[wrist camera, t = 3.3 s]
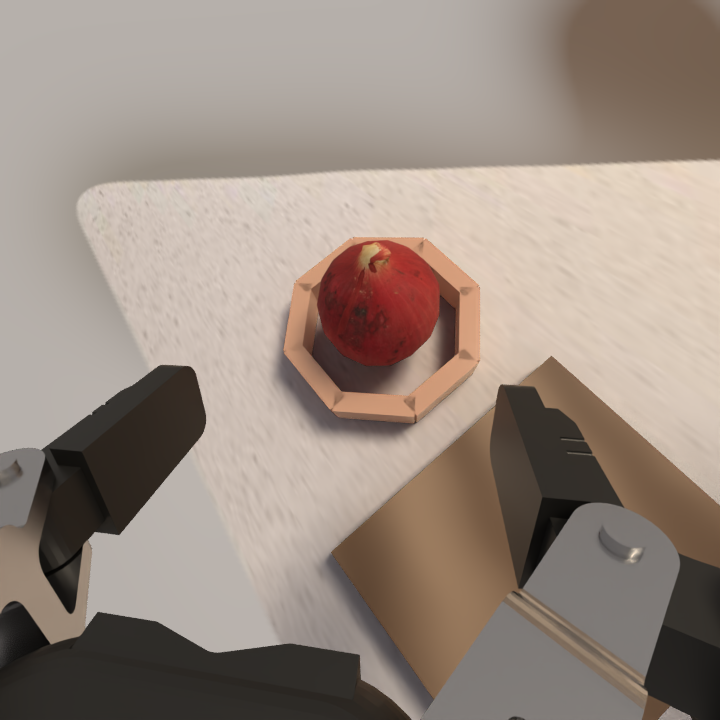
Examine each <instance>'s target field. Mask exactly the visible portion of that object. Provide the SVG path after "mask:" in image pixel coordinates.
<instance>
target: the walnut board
mask: <svg viewBox="0 0 720 720" xmlns="http://www.w3.org/2000/svg"><path fill="white" fill-rule="evenodd" d="M519 385H520V386H534V387H535V388H536V390H537V392H538V394H539V396H540V398H541V400H542V402H543V404H544V406H545V408H557V409H559V410H560V411H562V412H563V413H564V414H565V415H567V416H568V417H569V418H570V419H572V420H573V421H574V422H575V423H576V425H577V426H578V428H579V430H580V431H581V433H582V435H583V437H584V438H585V442H587V444H588V445H589V447H590V449H591V451H592V452H593V453H592V455H593V456H595V457H596V459H597V461H598V463H599V464H600V466H601V468H602V470H603V471H604V473H605V475H606V477H607V478H608V480H609V482H610V483H611V485H612V487H613V489H614V490H615V492H616V494H617V496H618V497H619V499H620V501H621V503H622V504H623V506H624V508H626V509H628V510H631V511H633V512H635V513H637V514H639V515H641V516H642V517H644V518H646V519H647V520H649V521H650V522H652V523H653V524H654V525H655V526H657V527H658V528H659V529H660V530H661V531H662V532H663V533H664V534H665V535H666V536H667V537H668V538H669V539H670V541H671V542H672V543H673V545H674V547H675V548H676V550H677V552H678V553H680V554H682V555H684V556H687V557H690V558H692V559H695V560H698V561H701V562H704V563H707V564H710V565H712V566H715V567H718V568H720V505H719V504H717V503H716V502H715V501H714V500H713V499H712V498H711V497H710V496H708V495H707V494H706V493H705V492H704V491H703V490H702V489H701V488H699V487H698V486H697V485H696V484H695V483H694V482H693V481H692V480H690V479H689V478H688V477H687V476H686V475H685V474H684V473H683V472H682V471H680V470H679V469H678V468H677V467H676V466H675V465H674V464H673V463H671V462H670V461H669V460H668V459H667V458H666V457H665V456H664V455H662V454H661V453H660V452H659V451H658V450H657V449H656V448H655V447H653V446H652V445H651V444H650V443H649V442H648V441H647V440H646V439H644V438H643V437H642V436H641V435H640V434H639V433H638V432H637V431H635V430H634V429H633V428H632V427H631V426H630V425H629V424H628V423H626V422H625V421H624V420H623V419H622V418H621V417H620V416H619V415H617V414H616V413H615V412H614V411H613V410H612V409H611V408H610V407H608V406H607V405H606V404H605V403H604V402H603V401H602V400H601V399H599V398H598V397H597V396H596V395H595V394H594V393H593V392H592V391H590V390H589V389H588V388H587V387H586V386H585V385H584V384H583V383H581V382H580V381H579V380H578V379H577V378H576V377H575V376H574V375H573V374H571V373H570V372H569V371H568V370H567V369H566V368H565V367H564V366H562V365H561V364H560V363H559V362H558V361H557V360H556V359H555V358H553V357H552V356H551V357H550V358H549V359H547V360H546V361H545V362H544V363H543V364H542V365H541V366H540V367H538V368H537V369H536V370H535V371H534V372H533V373H532V374H531V375H529V376H528V377H527V378H526V379H525V380H524V381H523V382H522V383H520V384H519ZM494 412H495V407H493V408H492V409H491V410H490V411H489V412H488V413H487V414H486V415H485V416H483V417H482V418H481V419H480V420H479V421H478V422H477V423H476V424H474V425H473V426H472V427H471V428H470V429H469V430H468V431H467V432H465V433H464V434H463V435H462V436H461V437H460V438H459V439H458V440H456V441H455V442H454V443H453V444H452V445H451V446H450V447H449V448H447V449H446V450H445V451H444V452H443V453H442V454H441V455H440V456H438V457H437V458H436V459H435V460H434V461H433V462H432V463H431V464H429V465H428V466H427V467H426V468H425V469H424V470H423V471H422V472H420V473H419V474H418V475H417V476H416V477H415V478H414V479H413V480H411V481H410V482H409V483H408V484H407V485H406V486H405V487H404V488H403V489H401V490H400V491H399V492H398V493H397V494H396V495H395V496H394V497H392V498H391V499H390V500H389V501H388V502H387V503H386V504H385V505H383V506H382V507H381V508H380V509H379V510H378V511H377V512H376V513H374V514H373V515H372V516H371V517H370V518H369V519H368V520H367V521H365V522H364V523H363V524H362V525H361V526H360V527H359V528H358V529H356V530H355V531H354V532H353V533H352V534H351V535H350V536H349V537H347V538H346V539H345V540H344V541H343V542H342V543H341V544H340V545H338V546H337V547H336V548H335V549H334V550H333V551H332V552H331V553H332V555H333V556H334V558H335V559H336V560H337V562H338V563H339V565H340V566H341V568H342V569H343V570H344V572H345V573H346V575H347V576H348V578H349V579H350V580H351V582H352V583H353V585H354V586H355V588H356V589H357V590H358V592H359V593H360V595H361V596H362V598H363V599H364V600H365V602H366V603H367V605H368V606H369V608H370V609H371V610H372V612H373V613H374V615H375V616H376V618H377V619H378V620H379V622H380V623H381V625H382V626H383V628H384V629H385V630H386V632H387V633H388V635H389V636H390V638H391V639H392V640H393V642H394V643H395V645H396V646H397V648H398V649H399V650H400V652H401V653H402V655H403V656H404V658H405V659H406V660H407V662H408V663H409V665H410V666H411V668H412V669H413V671H414V672H415V673H416V675H417V676H418V678H419V679H420V681H421V682H422V683H423V685H424V686H425V688H426V689H427V691H428V692H429V693H430V695H431V696H432V698H433V699H435V698H436V696H437V695H438V693H439V692H440V690H441V689H442V687H443V686H444V685H445V683H446V682H447V680H448V679H449V677H450V676H451V674H452V673H453V672H454V670H455V669H456V667H457V666H458V664H459V663H460V661H461V660H462V659H463V657H464V656H465V654H466V653H467V651H468V650H469V648H470V647H471V645H472V644H473V643H474V641H475V640H476V638H477V637H478V635H479V634H480V632H481V631H482V630H483V628H484V627H485V625H486V624H487V622H488V621H489V619H490V618H491V617H492V615H493V614H494V612H495V611H496V609H497V608H498V606H499V605H500V604H501V602H502V601H503V600H504V598H505V597H506V596H507V595H508V594H509V593H510V592H511V591H515V592H517V593H519V592H520V591H521V590H522V589H518V585H517V580H516V576H515V571H514V567H513V562H512V557H511V553H510V548H509V543H508V539H507V534H506V530H505V525H504V520H503V516H502V511H501V507H500V502H499V497H498V493H497V488H496V483H495V479H494V474H493V470H492V465H491V459H490V437H491V431H492V425H493V419H494ZM669 707H670V705H668V704H666V703H664V702H661V701H659V700H657V699H655V698H653V697H651V696H649V695H647V701H646V706H645V710H644V713H643V717H642V720H658V719H659V717H660V716H661V715H662V714H663V713H664V712H665V711H666V710H667V709H668V708H669Z"/></svg>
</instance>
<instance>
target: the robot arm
mask: <svg viewBox="0 0 720 720" xmlns="http://www.w3.org/2000/svg"><path fill="white" fill-rule="evenodd" d="M92 413H93V414H92V415H88V416H87V417H85V418H84V419H83V420H81V421H80V422H78V423H77V424H76V425H75V426H73V427H72V428H70V429H69V430H68V431H67V432H65V433H64V434H62V435H61V436H60V437H58V438H57V439H56V440H54V441H53V442H52V443H50V444H49V445H47V446H46V447H45V448H43V449H42V450H39V449H35V448H22V449H16V450H12V451H8V452H4V453H1V454H0V720H411V719H410V717H409V716H408V715H407V714H406V713H405V712H404V711H403V710H402V709H401V708H400V707H399V706H398V705H397V704H396V703H395V702H394V701H392V700H391V699H390V698H389V697H387V696H386V695H385V694H383V693H382V692H380V691H379V690H378V689H376V688H375V687H373V686H372V685H370V684H368V683H366V682H364V681H362V680H361V674H360V655H357V654H351V653H345V652H339V651H333V650H327V649H321V648H314V647H308V646H302V645H296V644H282V645H276V646H268V647H260V648H252V649H244V650H237V651H230V652H222V653H214V652H209V651H207V650H205V649H203V648H202V647H200V646H198V645H196V644H195V643H193V642H191V641H189V640H188V639H186V638H184V637H183V636H181V635H179V634H177V633H176V632H174V631H172V630H170V629H169V628H167V627H165V626H163V625H162V624H160V623H158V622H156V621H150V620H144V619H137V618H131V617H125V616H119V615H113V614H107V613H100V612H97V614H96V615H95V616H94V618H93V619H92V621H91V622H90V623H89V625H88V626H87V627H86V629H85V619H86V609H87V599H88V588H89V578H90V567H91V557H92V548H91V545H90V543H89V541H88V539H89V538H90V537H91V536H92V534H93V533H94V532H100V533H108V534H115V535H120V534H121V532H122V531H123V530H124V529H125V527H126V526H127V525H128V524H129V523H130V521H131V520H132V519H133V518H134V517H135V515H136V514H137V513H138V512H139V511H140V509H141V508H142V507H143V506H144V505H145V503H146V502H147V501H148V500H149V499H150V497H151V496H152V495H153V494H154V493H155V491H156V490H157V489H158V488H159V487H160V485H161V484H162V483H163V482H164V480H165V479H166V478H167V477H168V476H169V474H170V473H171V472H172V471H173V470H174V468H175V467H176V466H177V465H178V464H179V462H180V461H181V460H182V459H183V458H184V456H185V455H186V454H187V453H188V452H189V450H190V449H191V448H192V447H193V445H194V444H195V443H196V442H197V441H198V439H199V438H200V437H201V436H202V434H203V432H204V429H205V425H206V413H205V409H204V405H203V401H202V397H201V393H200V389H199V385H198V381H197V377H196V373H195V371H194V370H193V369H192V368H191V367H189V366H176V365H160V366H158V367H157V368H155V369H154V370H153V371H151V372H150V373H149V374H147V375H146V376H145V377H144V378H142V379H141V380H139V381H138V382H137V383H135V384H134V385H133V386H130V387H128V388H126V389H124V390H122V391H120V392H119V393H118V394H116V395H115V396H114V397H112V398H111V399H110V400H108V401H107V402H106V404H105V405H101V406H100V407H99V408H97V409H96V410H95V411H93V412H92ZM592 453H593V452H592V451H591V449H590V447H589V445H588V444H587V442H585V438H584V437H583V435H582V433H581V431H580V430H579V428H578V426H577V425H576V423H575V422H574V421H573V420H572V419H570V418H569V417H568V416H567V415H565V414H564V413H563V412H562V411H560V410H559V409H557V408H545V406H544V404H543V402H542V400H541V398H540V396H539V394H538V392H537V390H536V388H535V387H534V386H520V385H503V384H502V385H500V387H499V390H498V394H497V400H496V406H495V412H494V419H493V425H492V431H491V437H490V459H491V465H492V470H493V474H494V479H495V483H496V488H497V493H498V497H499V502H500V507H501V511H502V516H503V520H504V525H505V530H506V534H507V539H508V543H509V548H510V553H511V557H512V562H513V567H514V571H515V576H516V580H517V585H518V589H522V590H521V591H520V592H519V593H517V592H515V591H511V592H510V593H509V594H508V595H507V596H506V597H505V598H504V600H503V601H502V602H501V604H500V605H499V606H498V608H497V609H496V611H495V612H494V614H493V615H492V617H491V618H490V619H489V621H488V622H487V624H486V625H485V627H484V628H483V630H482V631H481V632H480V634H479V635H478V637H477V638H476V640H475V641H474V643H473V644H472V645H471V647H470V648H469V650H468V651H467V653H466V654H465V656H464V657H463V659H462V660H461V661H460V663H459V664H458V666H457V667H456V669H455V670H454V672H453V673H452V674H451V676H450V677H449V679H448V680H447V682H446V683H445V685H444V686H443V687H442V689H441V690H440V692H439V693H438V695H437V696H436V698H435V699H434V701H433V702H432V703H431V705H430V706H429V708H428V709H427V711H426V712H425V714H424V715H423V716H422V718H421V719H420V720H642V717H643V713H644V710H645V706H646V701H647V695H649V696H651V697H653V698H655V699H657V700H659V701H661V702H664V703H666V704H668V705H670V706H672V707H674V708H676V709H678V710H680V711H682V712H684V713H686V714H688V715H690V716H691V718H692V720H720V568H718V567H715V566H712V565H710V564H707V563H704V562H701V561H698V560H695V559H692V558H690V557H687V556H684V555H682V554H680V553H678V552H677V550H676V548H675V547H674V545H673V543H672V542H671V541H670V539H669V538H668V537H667V536H666V535H665V534H664V533H663V532H662V531H661V530H660V529H659V528H658V527H657V526H655V525H654V524H653V523H652V522H650V521H649V520H647V519H646V518H644V517H642V516H641V515H639V514H637V513H635V512H633V511H631V510H628V509H626V508H624V506H623V504H622V503H621V501H620V499H619V497H618V496H617V494H616V492H615V490H614V489H613V487H612V485H611V483H610V482H609V480H608V478H607V477H606V475H605V473H604V471H603V470H602V468H601V466H600V464H599V463H598V461H597V459H596V457H595V456H593V455H592Z"/></svg>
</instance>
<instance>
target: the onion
mask: <svg viewBox="0 0 720 720" xmlns="http://www.w3.org/2000/svg"><path fill="white" fill-rule="evenodd" d="M439 301H440V290H439V283H438V281H437V279H436V278H435V276H434V274H433V272H432V270H431V268H430V266H429V265H428V263H427V262H426V261H425V260H424V259H423V258H421V257H420V256H419V255H418V254H416V253H415V252H414V251H413V250H411V249H410V248H409V247H407V246H404V245H401V244H398V243H395V242H392V241H389V240H377V241H366V242H363V243H360V244H357V245H353V246H350V247H348V248H347V249H346V250H345V251H343V252H342V253H341V254H340V255H338V256H337V257H336V258H335V259H333V261H332V262H331V264H330V266H329V267H328V269H327V271H326V272H325V274H324V276H323V277H322V279H321V284H320V290H319V296H318V301H317V308H318V312H319V316H320V319H321V323H322V327H323V331H324V334H325V335H326V336H327V337H328V339H329V340H330V341H331V342H332V343H333V345H334V346H335V347H336V348H337V350H338V351H339V352H340V353H341V354H342V355H343V356H345V357H347V358H350V359H352V360H354V361H356V362H358V363H361V364H363V365H365V366H388V365H392V364H394V363H396V362H398V361H401V360H403V359H405V358H407V357H409V356H411V355H412V354H413V353H414V352H415V351H416V350H417V349H418V348H419V347H421V346H422V345H423V344H424V343H425V342H426V341H427V340H428V338H429V337H430V336H431V334H432V332H433V329H434V327H435V324H436V322H437V319H438V317H439Z"/></svg>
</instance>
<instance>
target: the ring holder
mask: <svg viewBox="0 0 720 720" xmlns="http://www.w3.org/2000/svg"><path fill="white" fill-rule="evenodd" d="M377 240H389V241H392V242H395V243H398V244H401V245H404V246H407V247H409V248H410V249H411V250H413V251H414V252H415V253H416V254H418V255H419V256H420V257H421V258H423V259H424V260H425V261H426V262H427V263H428V265H429V266H430V268H431V270H432V272H433V274H434V276H435V278H436V279H437V281H438V283H439V290H440V295H441V296H442V297H443V298H444V299H445V300H446V301H447V302H448V303H449V304H450V305H452V306H453V307H454V308H455V309H456V320H455V356H454V357H453V358H452V359H451V360H450V361H449V362H447V363H446V364H445V365H444V366H443V367H442V368H440V369H439V370H438V371H437V372H436V373H435V374H433V375H432V376H431V377H430V378H429V379H428V380H426V381H425V382H424V383H423V384H422V385H421V386H419V387H418V388H417V389H416V390H415V391H414V392H412V393H411V394H410V395H409V396H402V395H386V394H371V393H355V392H341V391H340V389H339V388H338V387H337V386H336V385H335V383H334V382H333V381H332V380H331V379H330V377H329V376H328V375H327V374H326V373H325V371H324V370H323V369H322V368H321V367H320V366H319V364H318V363H317V362H316V361H315V360H314V358H313V357H312V353H313V346H314V339H315V331H316V324H317V317H318V308H317V301H318V296H319V290H320V284H321V279H322V277H323V276H324V274H325V272H326V271H327V269H328V267H329V266H330V264H331V262H332V261H333V259H335V258H336V257H337V256H338V255H340V254H341V253H342V252H343V251H345V250H346V249H347V248H348V247H350V246H353V245H357V244H360V243H363V242H366V241H377ZM478 286H479V285H478V284H477V283H476V282H475V281H474V280H473V279H471V278H470V277H469V276H468V275H467V274H466V273H465V272H463V271H462V270H461V269H460V268H459V267H458V266H457V265H456V264H454V263H453V262H452V261H451V260H450V259H449V258H448V257H446V256H445V255H444V254H443V253H442V252H441V251H440V250H439V249H437V248H436V247H435V246H434V245H433V244H432V243H431V242H429V241H428V240H427V239H425V240H424V238H372V237H353V240H352V239H351V238H350V239H349V240H348V241H346V242H345V243H344V244H343V245H341V246H340V247H339V248H337V249H336V250H335V251H334V252H332V253H331V254H330V255H328V256H327V257H326V258H325V259H323V260H322V261H321V262H319V263H318V264H317V265H316V266H314V267H313V268H312V269H311V270H309V271H308V272H307V273H305V274H304V275H303V276H302V277H300V278H299V279H298V280H296V283H294V289H293V295H292V301H291V307H290V313H289V319H288V325H287V331H286V337H285V343H284V349H283V351H284V354H285V355H286V356H287V357H288V359H289V360H290V361H291V362H292V363H293V365H294V366H295V367H296V368H297V370H298V371H299V372H300V373H301V375H302V376H303V377H304V378H305V380H306V381H307V382H308V383H309V384H310V386H311V387H312V388H313V389H314V391H315V392H316V393H317V394H318V396H319V397H320V398H321V399H322V401H323V402H324V403H325V404H326V405H327V407H328V408H329V409H330V410H331V411H332V412H333V413H334V414H335V415H336V416H337V417H339V418H347V419H361V420H374V421H387V422H401V423H414V420H415V422H416V423H417V422H418V421H419V420H420V419H421V418H423V417H424V416H425V415H426V414H427V413H428V412H429V411H431V410H432V409H433V408H434V407H435V406H436V405H438V404H439V403H440V402H441V401H442V400H443V399H444V398H446V397H447V396H448V395H449V394H450V393H451V392H452V391H454V390H455V389H456V388H457V387H458V386H459V385H461V384H462V383H463V382H464V381H465V380H466V379H467V378H469V377H470V376H471V375H472V374H473V372H474V370H475V369H476V367H477V365H478V363H479V361H480V287H478Z"/></svg>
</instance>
